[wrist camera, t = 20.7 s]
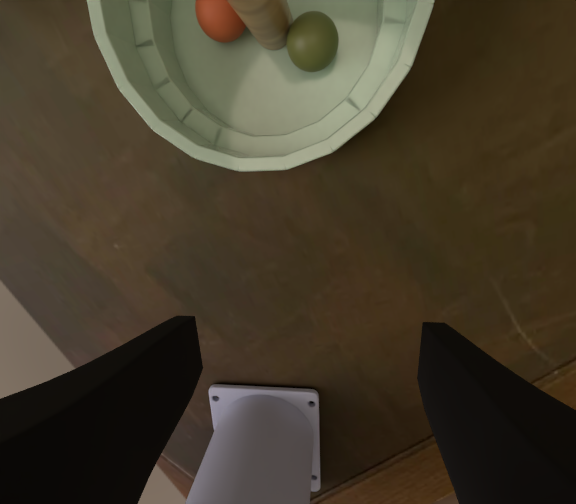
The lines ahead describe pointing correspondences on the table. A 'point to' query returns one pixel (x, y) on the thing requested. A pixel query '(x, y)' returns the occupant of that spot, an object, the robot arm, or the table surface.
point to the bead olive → (312, 41)
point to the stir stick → (265, 20)
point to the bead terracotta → (219, 20)
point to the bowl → (256, 78)
